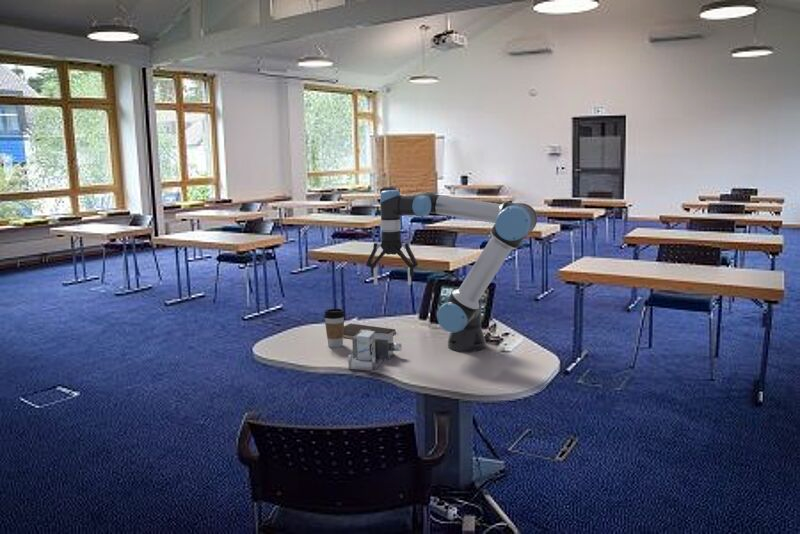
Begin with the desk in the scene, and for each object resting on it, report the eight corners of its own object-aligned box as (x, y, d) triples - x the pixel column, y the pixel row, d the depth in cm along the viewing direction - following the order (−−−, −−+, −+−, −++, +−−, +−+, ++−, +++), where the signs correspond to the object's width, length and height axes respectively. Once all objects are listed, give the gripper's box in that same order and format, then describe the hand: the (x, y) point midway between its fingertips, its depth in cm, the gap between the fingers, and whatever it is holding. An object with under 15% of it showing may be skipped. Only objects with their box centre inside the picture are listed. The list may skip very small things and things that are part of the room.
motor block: (403, 354, 260) (402, 329, 258) (398, 360, 252) (398, 335, 250) (358, 352, 264) (358, 327, 262) (353, 358, 256) (352, 333, 254)
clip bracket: (383, 359, 253) (382, 347, 253) (375, 370, 242) (374, 357, 241) (358, 358, 256) (357, 345, 255) (348, 368, 244) (348, 355, 243)
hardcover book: (376, 343, 276) (376, 338, 276) (331, 337, 288) (330, 331, 287) (395, 334, 290) (395, 328, 290) (351, 328, 301) (351, 323, 301)
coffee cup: (321, 347, 271) (319, 311, 268) (331, 341, 279) (329, 306, 276) (340, 349, 268) (338, 313, 265) (349, 343, 275) (348, 308, 273)
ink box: (370, 367, 245) (369, 336, 243) (357, 367, 246) (356, 336, 244) (376, 360, 253) (375, 330, 251) (363, 359, 254) (362, 330, 252)
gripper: (424, 229, 259) (425, 282, 262) (362, 229, 264) (364, 281, 268) (421, 231, 252) (422, 286, 255) (357, 231, 257) (359, 285, 260)
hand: (392, 284), depth 261 cm, fingers open, 13 cm apart
